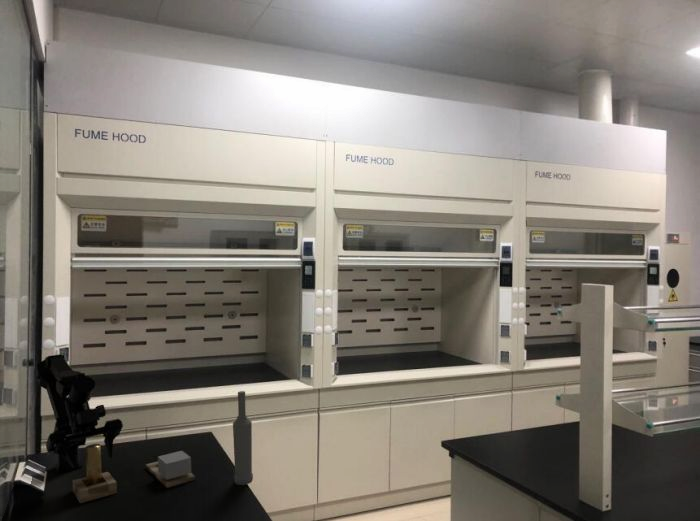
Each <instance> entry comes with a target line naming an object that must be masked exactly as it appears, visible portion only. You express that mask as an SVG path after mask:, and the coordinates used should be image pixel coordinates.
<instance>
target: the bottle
mask: <svg viewBox="0 0 700 521" xmlns="http://www.w3.org/2000/svg"><path fill="white" fill-rule="evenodd" d="M237 404H238V405H237V406H238V408H237V410H238V411H237V412H238V413H237V414H238V415H237V416H236V419H235V420H234V421H233V422H232V433H233V434H232V436H233V456H234V457H233V459H234V460H233V461H234V476H233V479H234V483H235V484H236V485H238V486H246V485H249V484H251V483H253V480H254V479H253V478H254V474H253V470H252V469H253V467H252V466H253V465H252V464H253V460H252V459H253V456H252V454H253V452H252V450H253V445H252V444H253V443H252V441H253V440H252V439H253V438H252V437H253V436H252V431H253V429H252V428H253V427H252V426H253V425H252V423H253V422H252V420H250V419H249V418H248V415H246V414H247V413H246V391H245V390H240V391H238V392H237Z"/></svg>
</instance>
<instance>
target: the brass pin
mask: <svg viewBox="0 0 700 521" xmlns="http://www.w3.org/2000/svg"><path fill="white" fill-rule="evenodd" d="M85 454H86V455H85V460H86V461H85V462H86V466H85V467H86V477H87V487H88V486H92V485H96V484H100V483H102V473H103V472H102V445H101V444H100V443H92V444H91V443H90V444H89V445H86V446H85Z"/></svg>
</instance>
